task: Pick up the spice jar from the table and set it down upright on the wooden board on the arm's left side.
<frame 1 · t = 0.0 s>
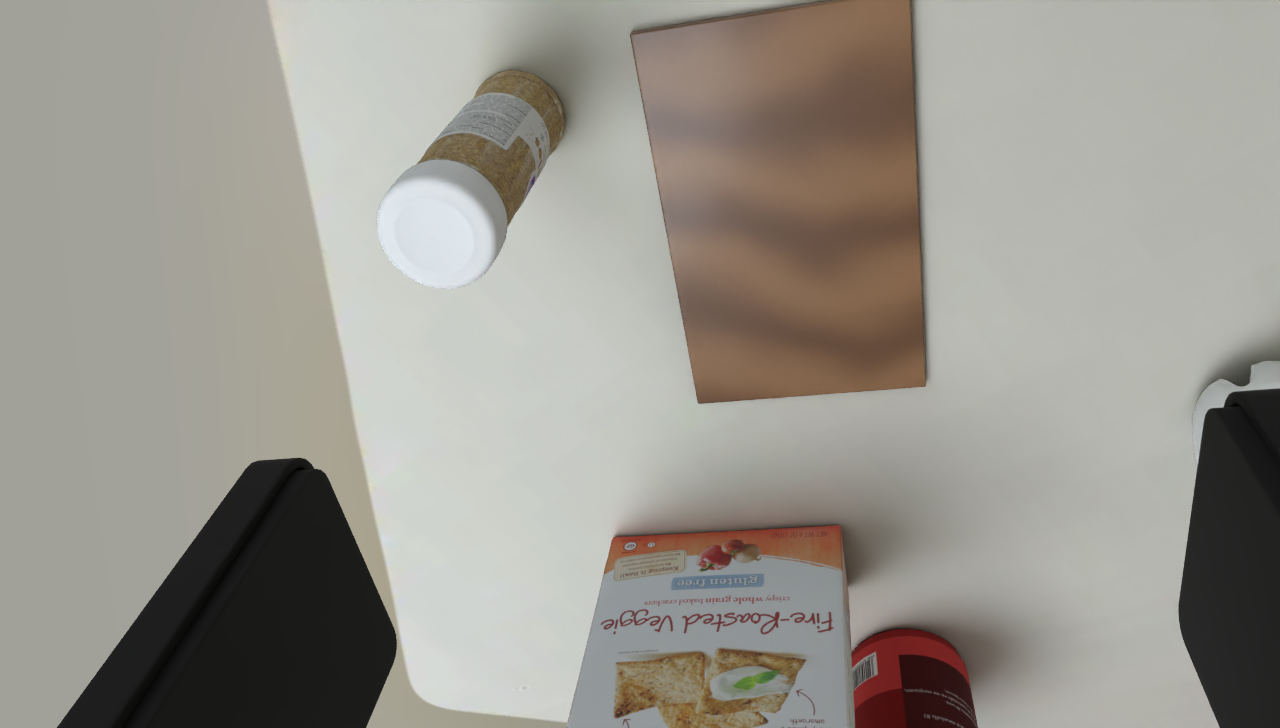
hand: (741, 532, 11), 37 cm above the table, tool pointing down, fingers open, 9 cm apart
canned food: (903, 665, 64), on the table
cracker box: (728, 557, 61), on the table
spice jar: (520, 112, 47), on the table
wooden board: (789, 220, 48), on the table
water bottle: (1252, 403, 51), on the table
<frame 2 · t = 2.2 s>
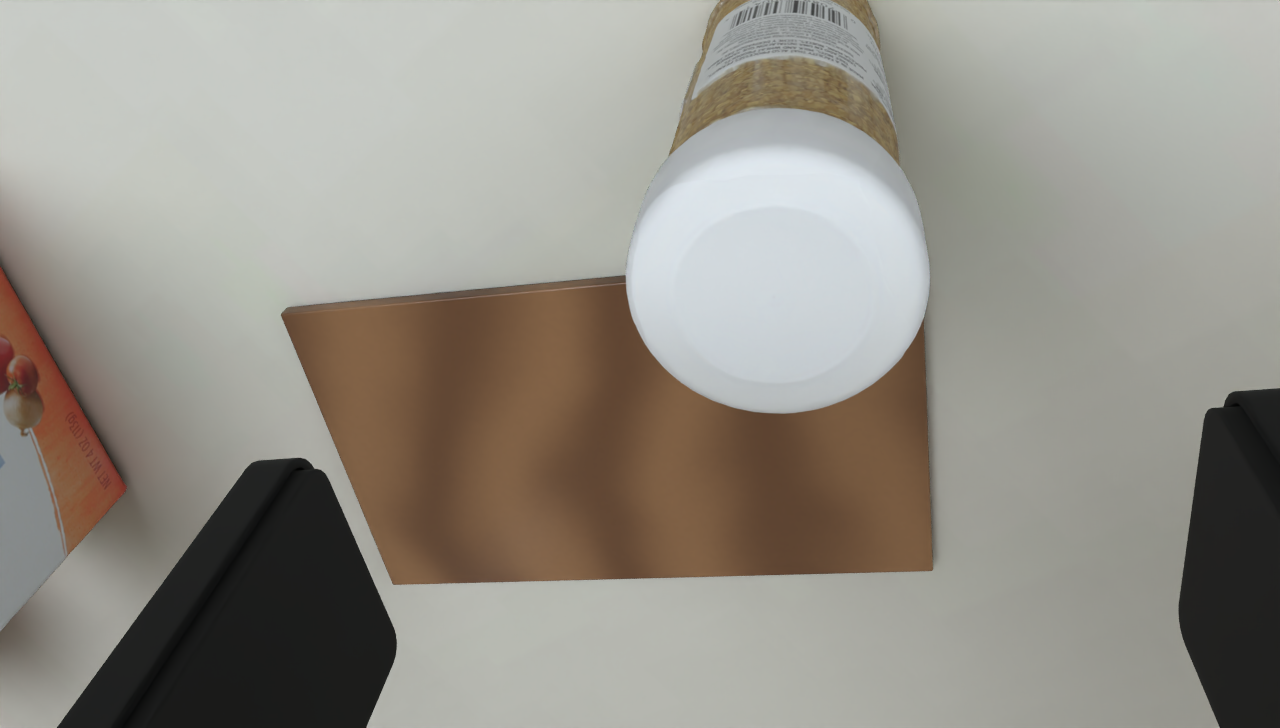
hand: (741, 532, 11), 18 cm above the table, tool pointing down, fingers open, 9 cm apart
spice jar: (792, 47, 26), on the table
wooden board: (617, 437, 33), on the table
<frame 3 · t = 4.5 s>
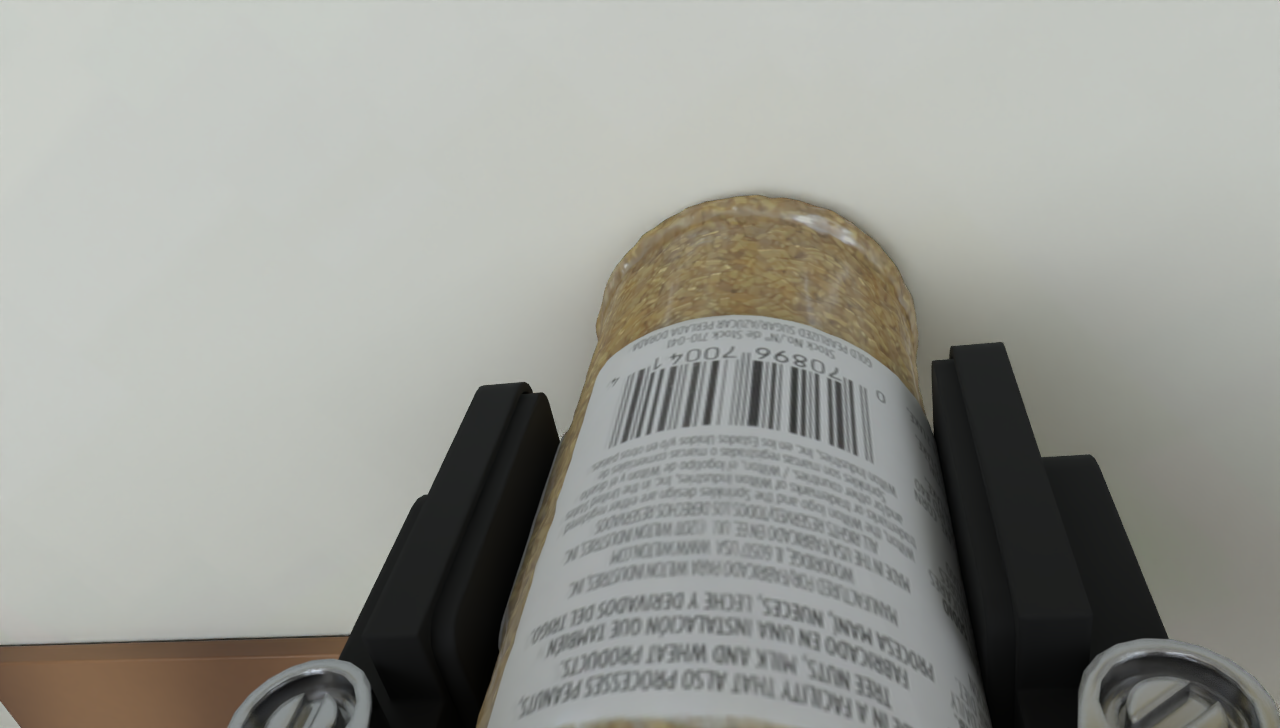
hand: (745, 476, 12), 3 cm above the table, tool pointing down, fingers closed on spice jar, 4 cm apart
spice jar: (759, 322, 15), on the table, touching gripper
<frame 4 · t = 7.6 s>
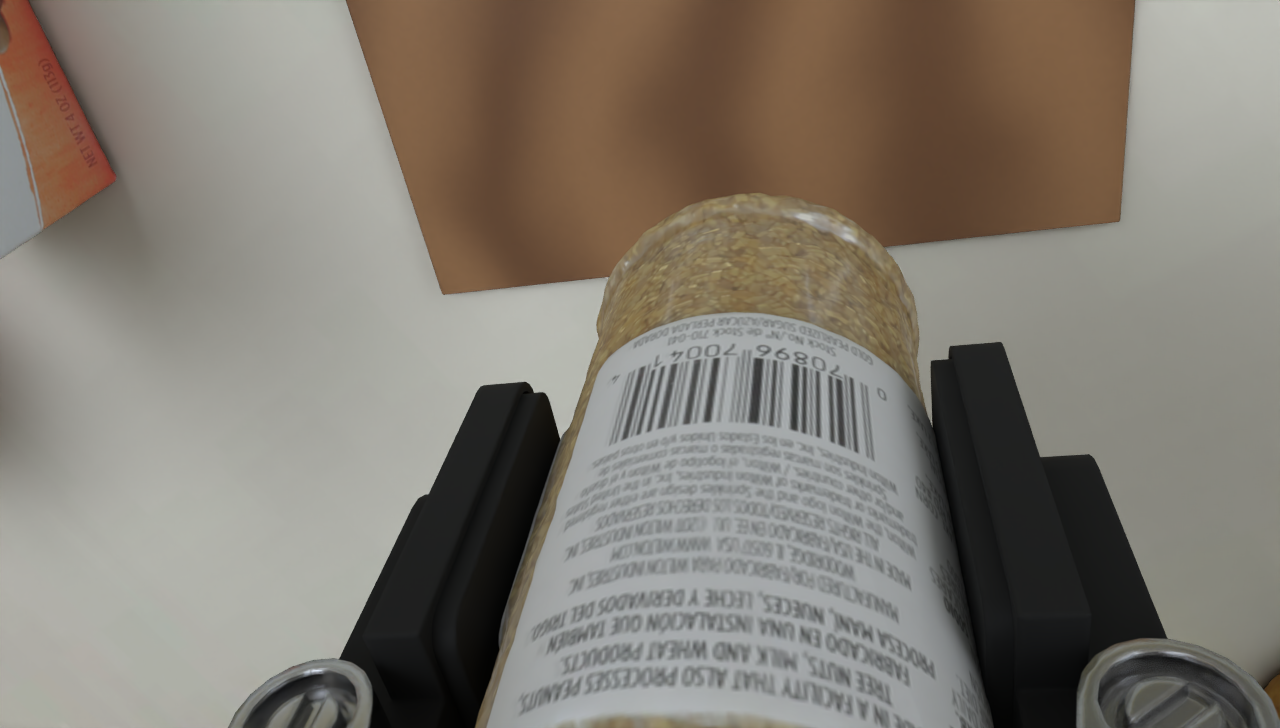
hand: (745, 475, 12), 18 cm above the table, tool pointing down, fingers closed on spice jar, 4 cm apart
spice jar: (759, 320, 15), point 14 cm above the table, touching gripper
wooden board: (730, 54, 27), on the table
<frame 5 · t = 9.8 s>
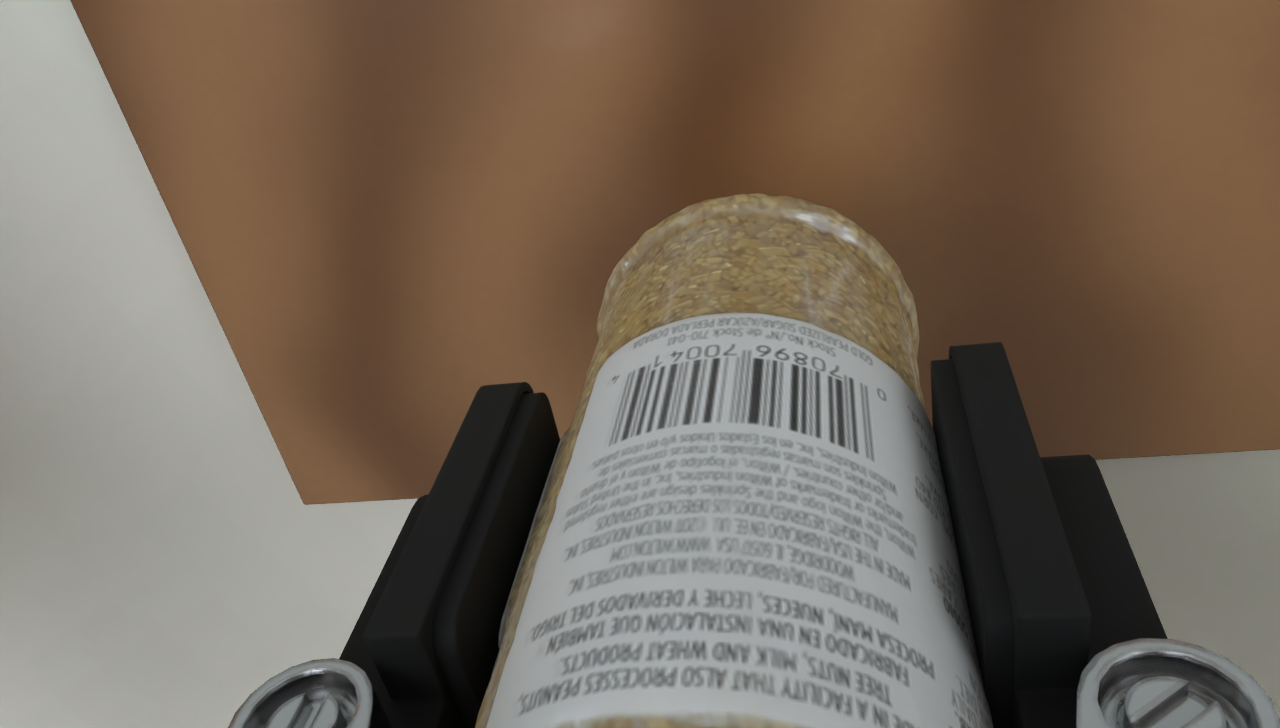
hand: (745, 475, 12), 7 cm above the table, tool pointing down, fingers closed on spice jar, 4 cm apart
spice jar: (759, 320, 15), point 4 cm above the table, touching gripper
wooden board: (707, 197, 18), on the table
when the fingers open (4 cm above the table, at t = 11.1 s): spice jar stays where it is, resting on wooden board.
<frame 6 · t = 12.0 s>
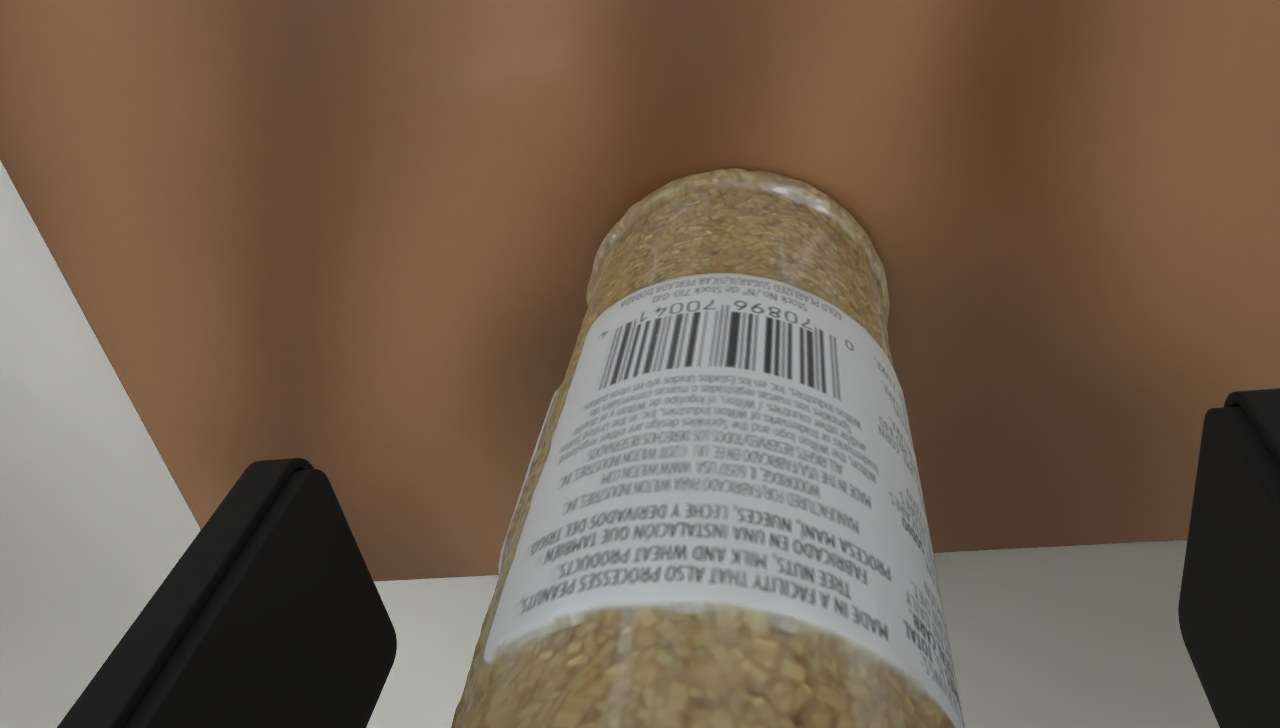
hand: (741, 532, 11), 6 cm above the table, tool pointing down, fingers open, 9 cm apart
spice jar: (740, 290, 15), resting on wooden board
wooden board: (667, 262, 16), on the table
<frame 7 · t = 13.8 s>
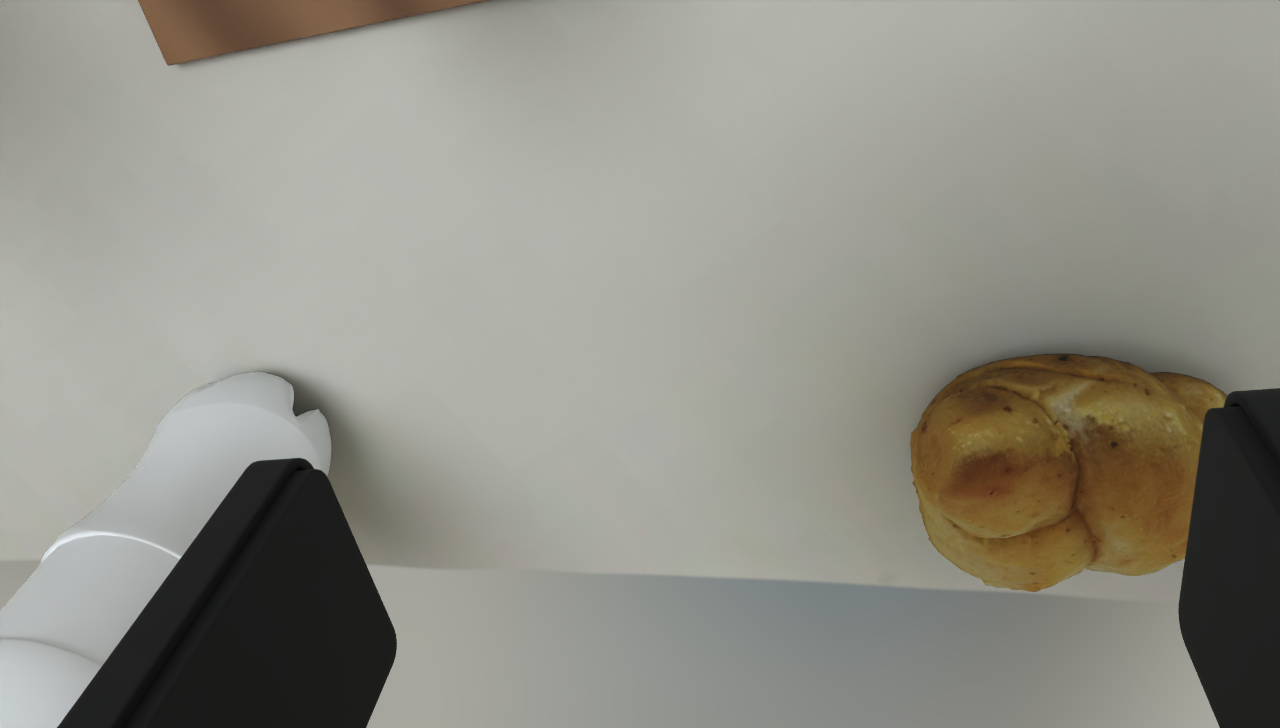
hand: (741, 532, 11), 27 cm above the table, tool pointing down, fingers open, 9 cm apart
bread roll: (1052, 425, 42), on the table
water bottle: (272, 418, 46), on the table
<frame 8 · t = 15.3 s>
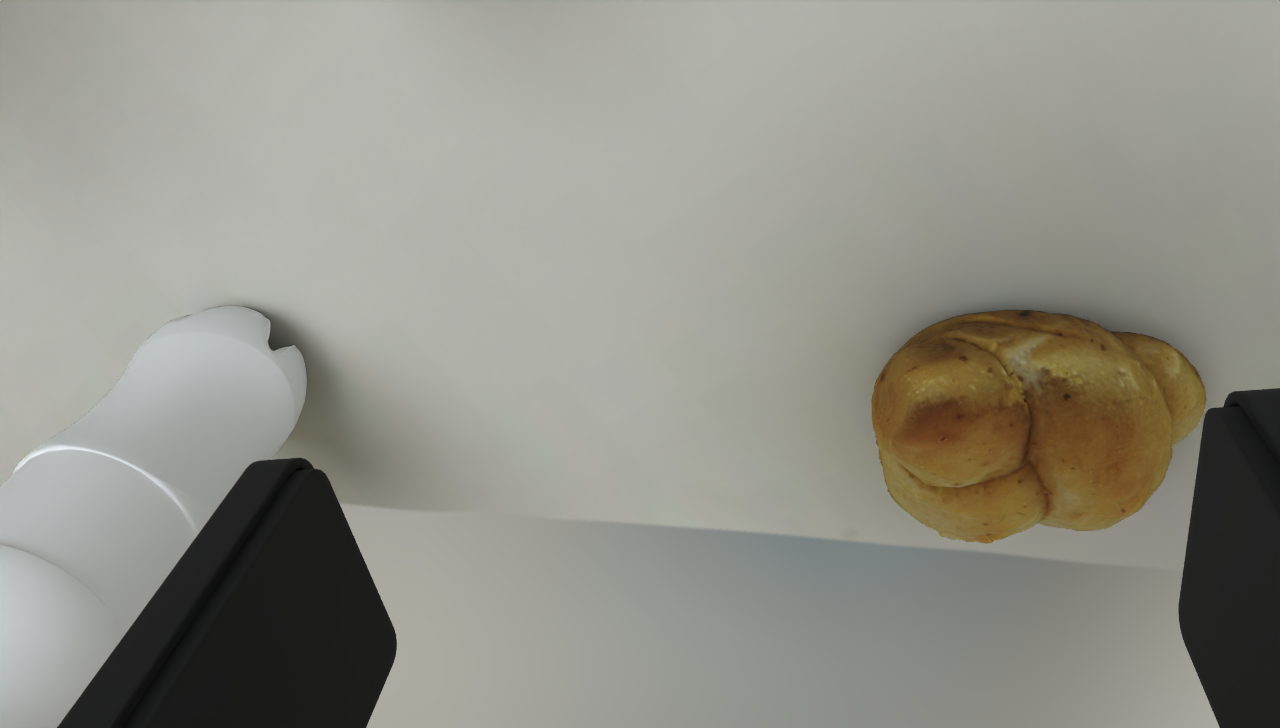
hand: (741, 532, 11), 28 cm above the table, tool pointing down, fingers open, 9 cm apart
bread roll: (1015, 384, 42), on the table
water bottle: (250, 353, 47), on the table
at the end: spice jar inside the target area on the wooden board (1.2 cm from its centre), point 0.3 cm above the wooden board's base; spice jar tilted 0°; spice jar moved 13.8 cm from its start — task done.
